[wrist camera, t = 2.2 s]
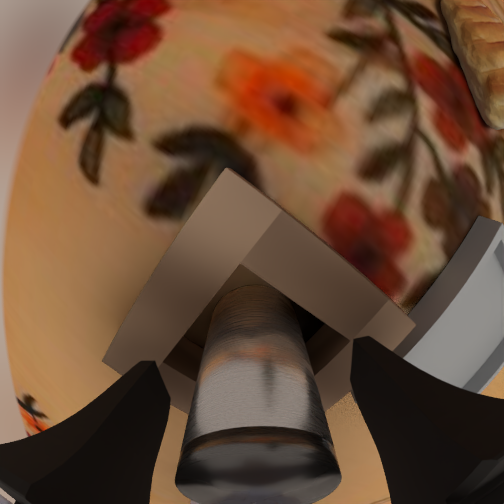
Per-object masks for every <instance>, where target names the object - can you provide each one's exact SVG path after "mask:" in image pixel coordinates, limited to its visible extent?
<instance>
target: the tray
mask: <svg viewBox="0 0 504 504" xmlns="http://www.w3.org/2000/svg"><path fill="white" fill-rule="evenodd" d="M407 316H408V317H409V318H410V319H411V320H412V321H413V322H414V323H415V324H416V326H415V327H414V328H413V330H412V331H411V332H410V333H409V334H408V335H407V336H406V337H405V338H404V339H403V341H402V342H401V343H400V344H399V345H398V346H397V347H396V348H395V349H394V350H393V351H392V352H394V353H395V354H397V355H398V356H400V357H401V358H403V359H405V360H406V361H408V362H409V363H411V364H413V365H414V366H416V367H418V368H419V369H421V370H423V371H425V372H427V373H428V374H430V375H432V376H434V377H436V378H438V379H440V380H442V381H445V382H447V383H449V384H452V385H454V386H456V387H459V388H462V389H465V390H468V391H471V392H474V393H478V394H480V393H481V392H482V391H483V390H484V389H485V388H486V387H487V386H488V384H489V383H490V382H491V381H492V380H493V379H494V377H495V376H496V375H497V374H498V373H499V371H500V370H501V369H502V368H503V366H504V225H503V223H501V222H498V221H495V220H491V219H488V218H485V217H481V216H478V218H477V219H476V221H475V223H474V225H473V226H472V228H471V229H470V231H469V233H468V234H467V236H466V238H465V239H464V241H463V242H462V244H461V245H460V247H459V248H458V250H457V251H456V253H455V254H454V256H453V257H452V259H451V260H450V262H449V263H448V264H447V266H446V267H445V269H444V270H443V271H442V273H441V274H440V275H439V277H438V278H437V279H436V281H435V282H434V283H433V285H432V286H431V287H430V289H429V290H428V291H427V292H426V294H425V295H424V296H423V297H422V299H421V300H420V301H419V302H418V304H417V305H416V306H415V307H414V308H413V310H412V311H411V312H410V313H409V314H408V315H407ZM351 394H352V396H353V399H354V401H355V403H357V402H356V399H355V396H354V392H353V389H352V390H351Z"/></svg>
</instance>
